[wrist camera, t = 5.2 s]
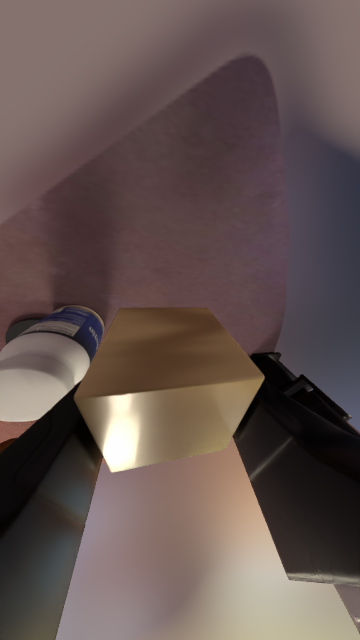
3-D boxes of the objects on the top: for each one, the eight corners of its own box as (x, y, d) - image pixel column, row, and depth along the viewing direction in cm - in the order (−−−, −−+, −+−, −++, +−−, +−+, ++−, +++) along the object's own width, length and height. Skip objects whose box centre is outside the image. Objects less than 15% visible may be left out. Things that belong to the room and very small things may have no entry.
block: (207, 306, 8) (267, 376, 4) (196, 365, 11) (226, 449, 6) (119, 307, 7) (70, 398, 3) (129, 371, 10) (110, 473, 5)
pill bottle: (103, 345, 19) (76, 421, 10) (52, 342, 17) (-34, 434, 8) (106, 307, 17) (75, 362, 8) (48, 299, 15) (-71, 361, 6)
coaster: (74, 316, 17) (72, 318, 16) (90, 363, 21) (89, 366, 20) (-7, 318, 15) (-11, 320, 15) (27, 368, 19) (24, 371, 19)
